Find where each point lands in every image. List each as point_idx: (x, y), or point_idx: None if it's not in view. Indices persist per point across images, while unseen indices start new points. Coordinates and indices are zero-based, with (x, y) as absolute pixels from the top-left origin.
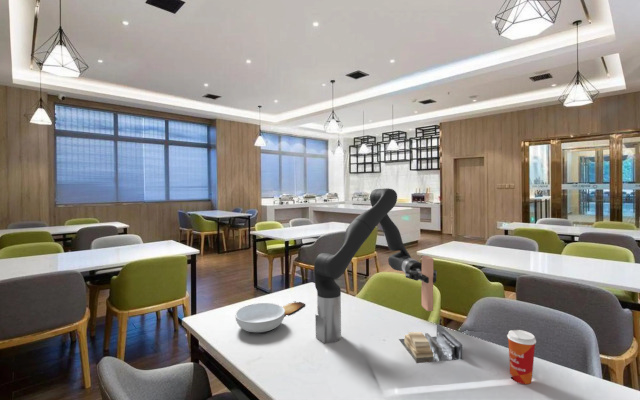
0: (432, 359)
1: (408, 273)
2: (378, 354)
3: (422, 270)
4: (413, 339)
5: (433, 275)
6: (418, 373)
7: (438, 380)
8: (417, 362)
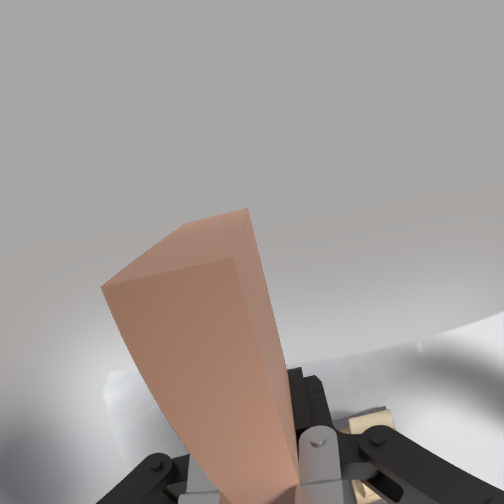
0: (344, 425)
1: (470, 482)
2: (473, 427)
3: (293, 448)
4: (392, 421)
5: (188, 456)
6: (382, 391)
7: (347, 381)
8: (383, 407)
